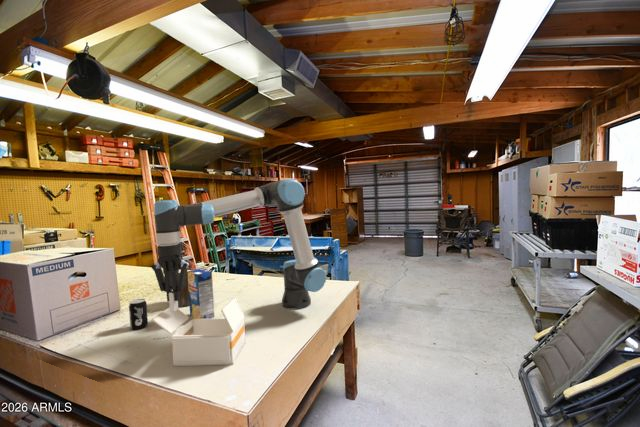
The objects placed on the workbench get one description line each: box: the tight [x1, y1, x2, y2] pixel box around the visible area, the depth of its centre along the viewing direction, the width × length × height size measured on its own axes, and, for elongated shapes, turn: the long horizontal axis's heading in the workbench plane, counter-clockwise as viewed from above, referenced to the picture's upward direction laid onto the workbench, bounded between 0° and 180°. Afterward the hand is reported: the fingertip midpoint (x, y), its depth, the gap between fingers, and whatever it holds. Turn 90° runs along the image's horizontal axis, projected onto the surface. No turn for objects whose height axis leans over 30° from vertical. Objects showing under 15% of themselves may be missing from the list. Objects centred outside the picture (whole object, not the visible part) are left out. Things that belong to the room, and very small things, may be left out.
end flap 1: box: [150, 306, 190, 335], centre depth 100 cm, size 1×12×8 cm
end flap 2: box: [221, 296, 245, 332], centre depth 99 cm, size 1×12×8 cm, turn 179°
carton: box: [171, 316, 246, 367], centre depth 100 cm, size 20×16×10 cm
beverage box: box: [187, 268, 215, 319], centre depth 134 cm, size 7×11×22 cm, turn 48°
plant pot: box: [178, 272, 190, 307], centre depth 154 cm, size 16×16×16 cm
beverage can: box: [128, 298, 149, 331], centre depth 125 cm, size 7×7×12 cm
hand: (174, 309), depth 100 cm, fingers closed
